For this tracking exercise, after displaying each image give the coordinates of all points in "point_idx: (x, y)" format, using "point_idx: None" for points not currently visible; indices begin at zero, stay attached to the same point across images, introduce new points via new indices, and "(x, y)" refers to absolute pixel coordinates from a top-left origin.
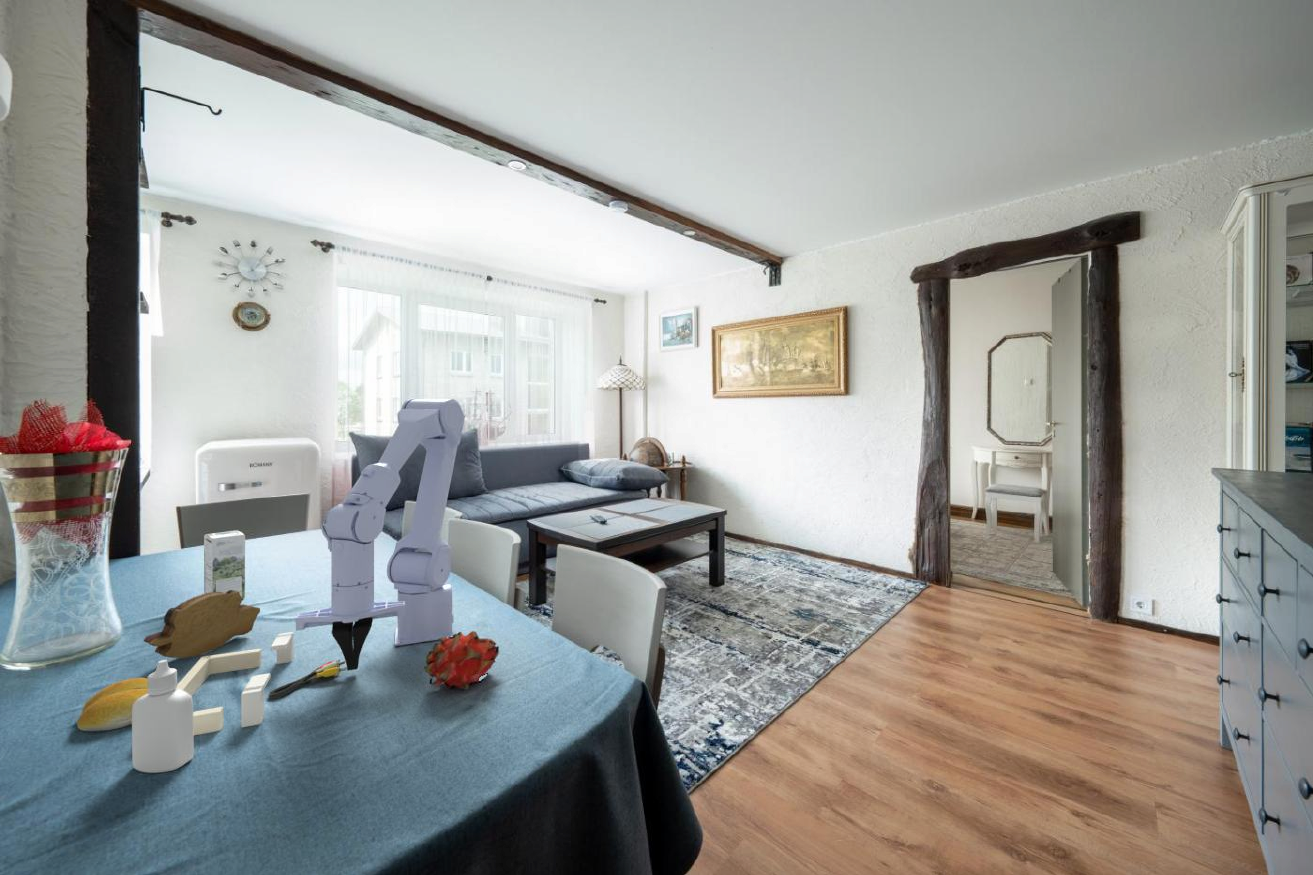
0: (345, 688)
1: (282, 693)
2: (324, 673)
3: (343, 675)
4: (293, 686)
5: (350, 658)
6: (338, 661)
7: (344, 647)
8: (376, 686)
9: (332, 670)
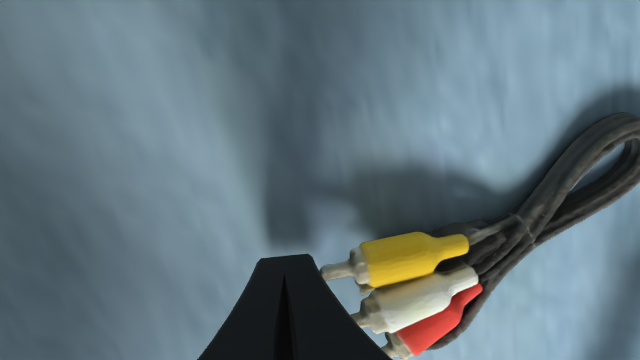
0: (295, 116)
1: (603, 130)
2: (430, 241)
3: None
4: (559, 182)
5: (294, 291)
6: None
7: (349, 354)
8: (112, 80)
9: (392, 253)
